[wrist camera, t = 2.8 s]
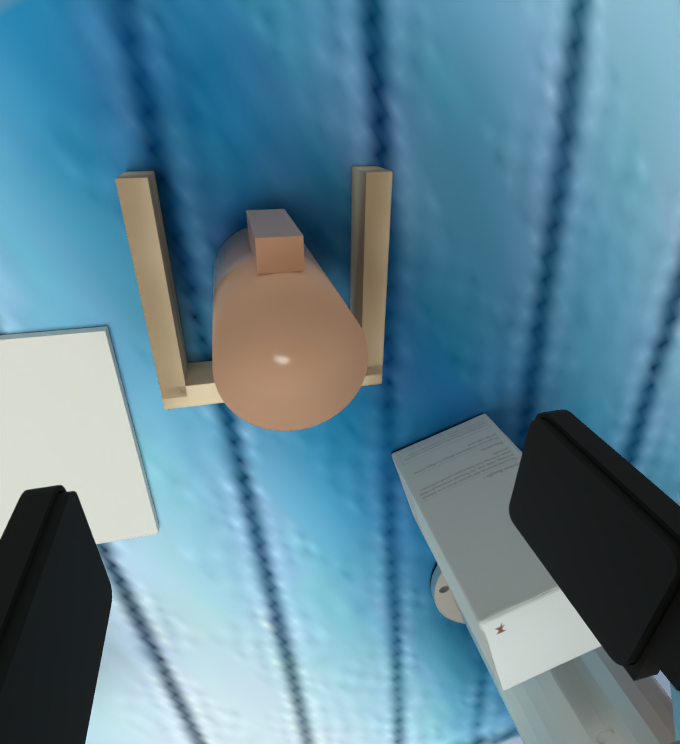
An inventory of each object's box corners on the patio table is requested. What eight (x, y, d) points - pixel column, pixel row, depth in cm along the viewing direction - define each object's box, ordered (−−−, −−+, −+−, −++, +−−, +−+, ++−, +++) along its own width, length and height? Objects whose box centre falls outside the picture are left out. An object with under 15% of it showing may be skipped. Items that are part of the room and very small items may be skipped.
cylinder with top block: (313, 196, 23) (372, 247, 14) (316, 318, 26) (366, 420, 17) (202, 200, 22) (195, 257, 13) (219, 327, 25) (222, 440, 16)
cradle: (375, 165, 23) (392, 171, 21) (368, 362, 28) (381, 383, 26) (125, 171, 21) (115, 178, 18) (168, 384, 26) (164, 409, 24)
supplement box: (413, 520, 36) (498, 697, 25) (388, 450, 32) (477, 625, 21) (502, 482, 36) (625, 641, 25) (488, 409, 32) (627, 560, 21)
